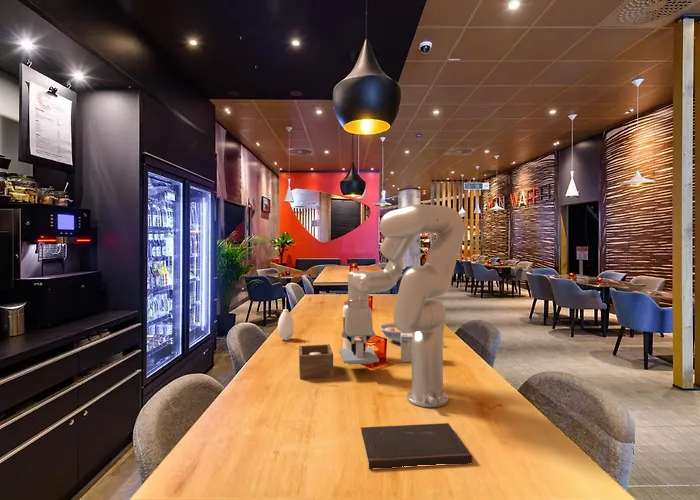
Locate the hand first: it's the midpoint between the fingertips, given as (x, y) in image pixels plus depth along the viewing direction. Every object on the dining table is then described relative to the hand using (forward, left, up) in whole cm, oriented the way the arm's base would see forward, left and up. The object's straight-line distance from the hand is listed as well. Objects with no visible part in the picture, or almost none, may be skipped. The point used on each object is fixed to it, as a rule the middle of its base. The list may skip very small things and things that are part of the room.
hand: (358, 352), depth 147 cm
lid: (0, 0, -2) cm, 2 cm away
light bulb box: (+13, -25, -8) cm, 29 cm away
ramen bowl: (+43, -29, -8) cm, 52 cm away
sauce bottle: (+57, +28, -8) cm, 64 cm away
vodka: (+23, -1, -8) cm, 24 cm away
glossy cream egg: (+6, +16, -7) cm, 18 cm away
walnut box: (+3, +16, -8) cm, 18 cm away
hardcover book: (-54, -4, -9) cm, 55 cm away
